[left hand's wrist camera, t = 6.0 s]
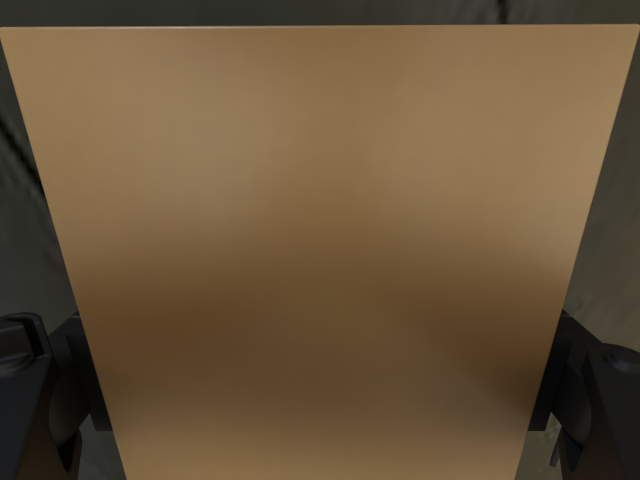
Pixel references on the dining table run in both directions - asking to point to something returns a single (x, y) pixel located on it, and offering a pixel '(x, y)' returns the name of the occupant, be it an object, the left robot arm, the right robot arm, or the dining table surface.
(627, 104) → the dining table surface
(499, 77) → the wide beam
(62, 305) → the dining table surface
